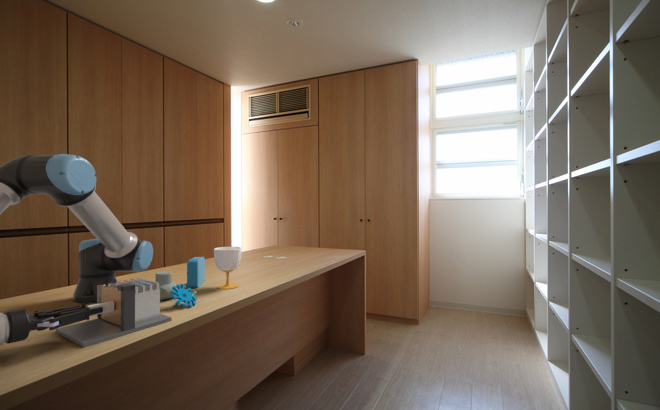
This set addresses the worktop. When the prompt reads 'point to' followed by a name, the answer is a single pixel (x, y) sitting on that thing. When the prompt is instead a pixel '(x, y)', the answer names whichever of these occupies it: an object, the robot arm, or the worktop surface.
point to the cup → (227, 262)
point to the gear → (184, 295)
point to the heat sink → (144, 299)
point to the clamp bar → (108, 295)
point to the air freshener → (165, 284)
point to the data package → (195, 272)
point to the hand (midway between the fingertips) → (112, 306)
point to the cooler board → (106, 330)
